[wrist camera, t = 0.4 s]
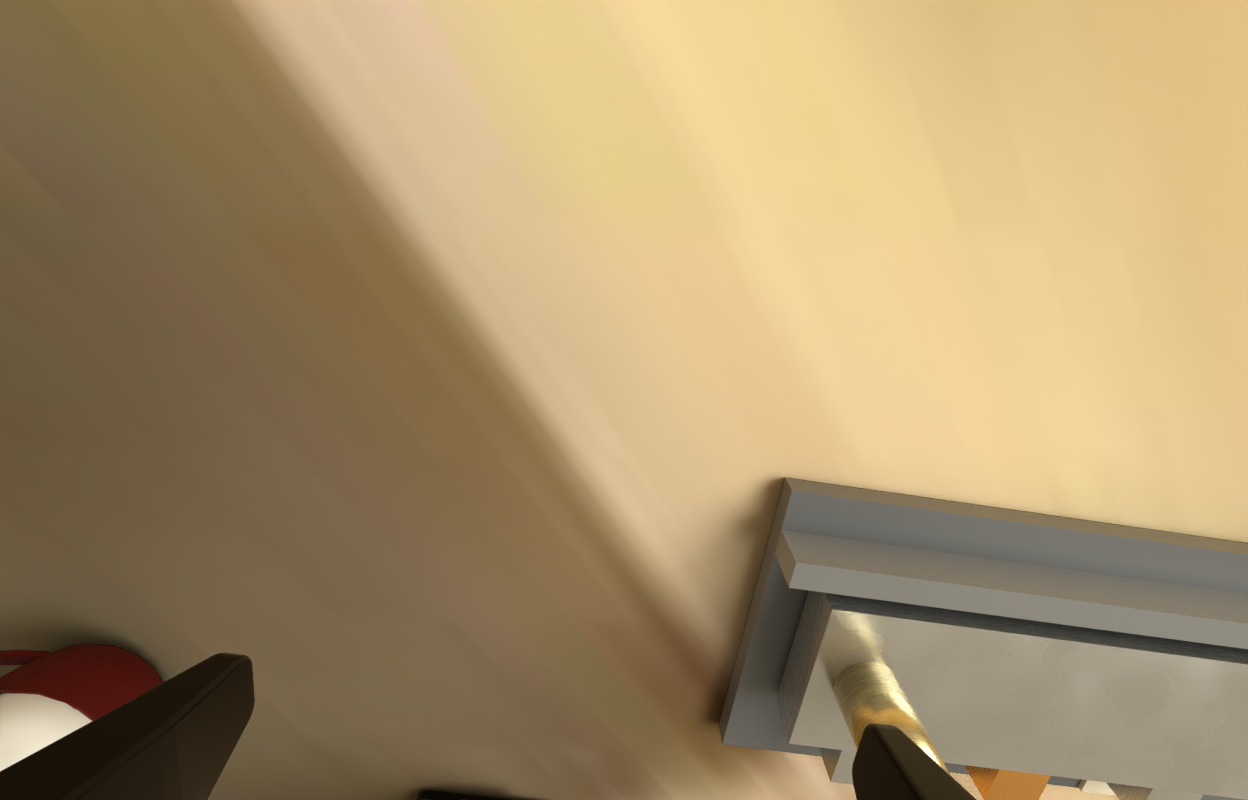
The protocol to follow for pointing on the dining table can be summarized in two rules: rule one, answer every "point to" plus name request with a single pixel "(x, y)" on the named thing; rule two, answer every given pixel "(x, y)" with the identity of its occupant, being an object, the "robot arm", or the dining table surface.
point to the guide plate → (972, 583)
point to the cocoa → (64, 693)
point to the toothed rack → (1019, 699)
